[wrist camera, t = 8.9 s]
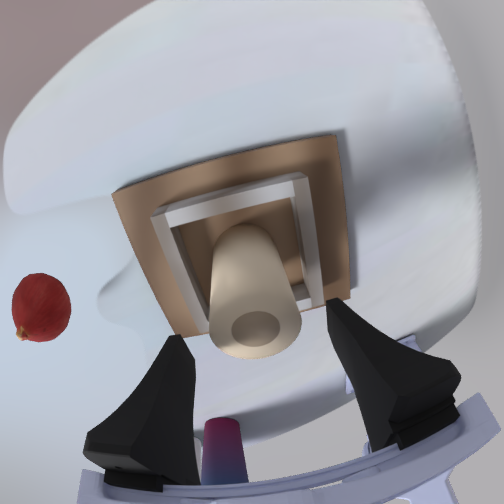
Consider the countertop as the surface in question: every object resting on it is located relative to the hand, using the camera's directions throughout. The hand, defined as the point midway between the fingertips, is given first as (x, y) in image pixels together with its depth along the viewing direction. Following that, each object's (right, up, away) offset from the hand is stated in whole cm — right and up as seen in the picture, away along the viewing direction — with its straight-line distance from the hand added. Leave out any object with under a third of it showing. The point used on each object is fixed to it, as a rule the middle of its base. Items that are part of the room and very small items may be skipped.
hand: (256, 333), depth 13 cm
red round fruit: (-19, +1, +8) cm, 20 cm away
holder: (-1, +4, +8) cm, 9 cm away
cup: (-5, -21, +21) cm, 30 cm away
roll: (-1, +4, +7) cm, 8 cm away
